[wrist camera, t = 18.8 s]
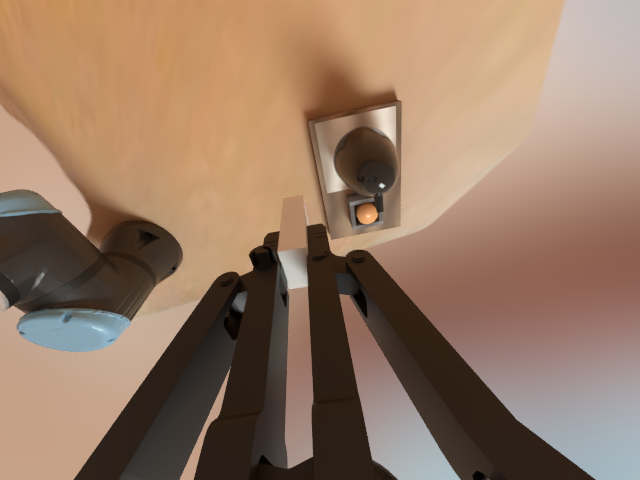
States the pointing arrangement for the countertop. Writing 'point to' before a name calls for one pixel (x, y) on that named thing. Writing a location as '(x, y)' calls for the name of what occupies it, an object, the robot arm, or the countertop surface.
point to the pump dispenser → (367, 163)
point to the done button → (366, 212)
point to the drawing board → (333, 189)
